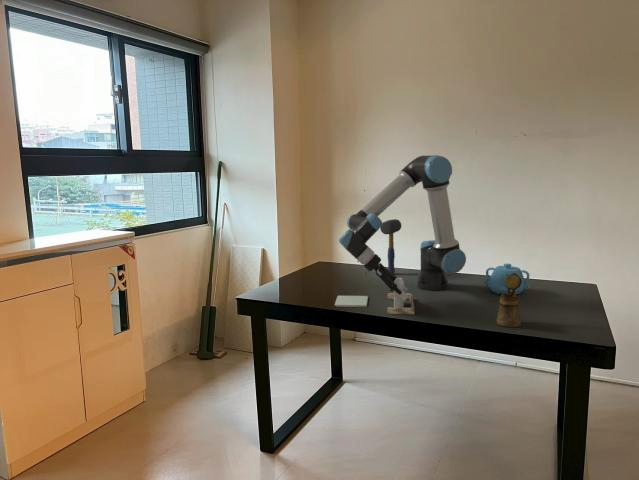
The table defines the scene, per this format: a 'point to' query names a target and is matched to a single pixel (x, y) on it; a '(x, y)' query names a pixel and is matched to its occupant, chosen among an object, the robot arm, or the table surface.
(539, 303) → the table surface
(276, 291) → the table surface
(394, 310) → the frame
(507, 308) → the brown wooden ornament
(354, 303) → the sage mat
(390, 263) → the rubber mallet
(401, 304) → the grey upright block
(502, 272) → the decorative pot
